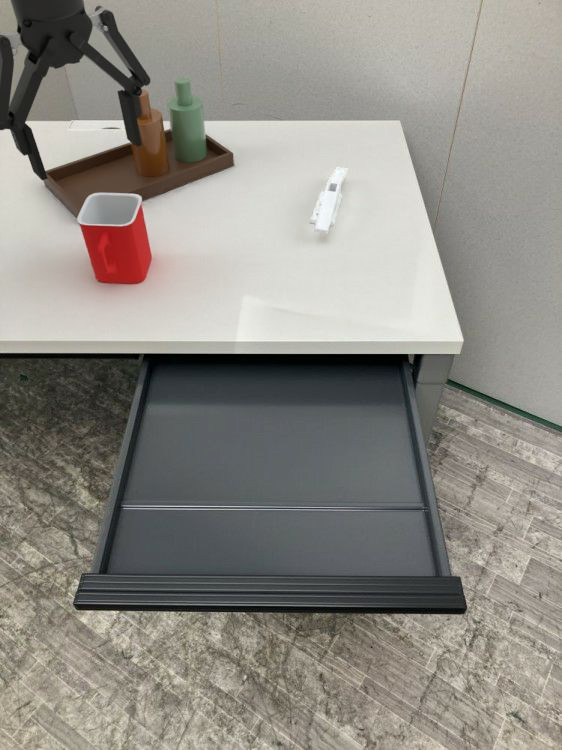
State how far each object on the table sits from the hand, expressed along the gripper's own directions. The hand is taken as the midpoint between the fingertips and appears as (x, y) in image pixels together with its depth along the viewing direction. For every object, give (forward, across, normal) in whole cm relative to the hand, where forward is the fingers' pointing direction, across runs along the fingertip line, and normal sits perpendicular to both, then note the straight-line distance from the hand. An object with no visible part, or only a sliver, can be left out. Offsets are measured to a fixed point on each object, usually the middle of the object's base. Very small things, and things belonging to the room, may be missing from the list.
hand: (89, 158), depth 78 cm
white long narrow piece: (+19, +37, -7) cm, 42 cm away
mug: (+19, 0, -1) cm, 19 cm away
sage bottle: (+18, +28, +23) cm, 40 cm away
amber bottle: (+18, +20, +23) cm, 35 cm away
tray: (+19, +17, +23) cm, 34 cm away
